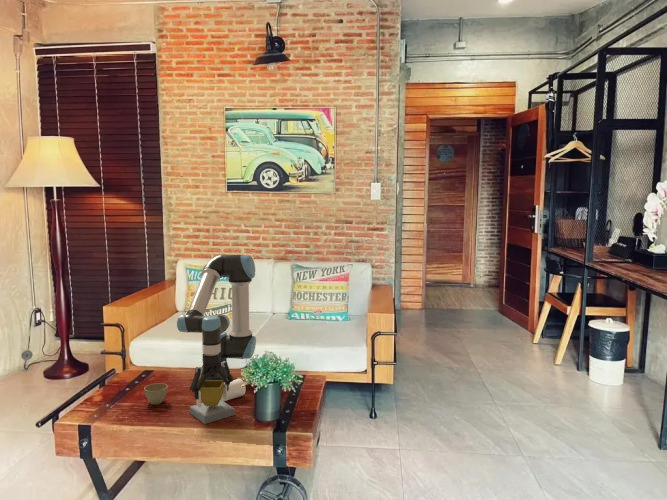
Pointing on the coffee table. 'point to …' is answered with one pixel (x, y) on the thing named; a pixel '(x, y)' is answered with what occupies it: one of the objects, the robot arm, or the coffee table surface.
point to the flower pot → (211, 392)
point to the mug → (235, 390)
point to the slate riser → (212, 412)
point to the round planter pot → (156, 392)
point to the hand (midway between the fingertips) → (212, 402)
